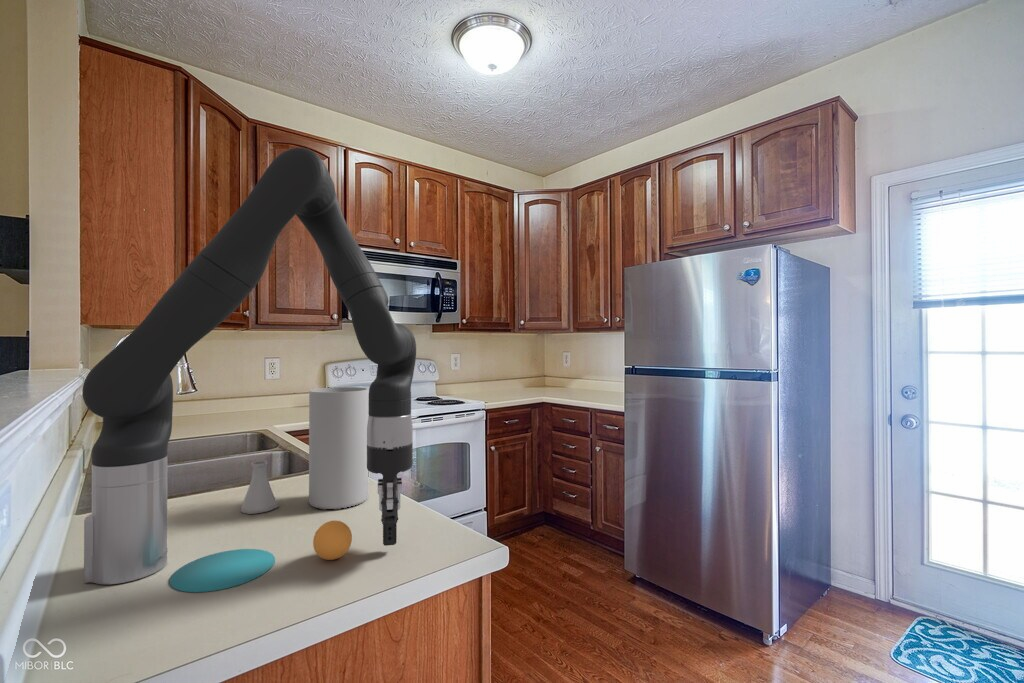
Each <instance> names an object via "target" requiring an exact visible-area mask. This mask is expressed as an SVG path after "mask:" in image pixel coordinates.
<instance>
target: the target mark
mask: <svg viewBox="0 0 1024 683" xmlns="http://www.w3.org/2000/svg"><path fill="white" fill-rule="evenodd" d="M275 560H276V558H275V555H274V553H273V554H272V552H269V550H268V551H267V550H264V549H260V548H259V549H257V548H240V549H230V550H226V551H220V552H216V553H212V554H208V555H205V556H202V557H200V558H197V559H195V560H193V561H190V562H188V563H186V564H184V565H182V566H181V567H179V568H178V569H177V570H175V571H174V573H173V574H172V575H171V576H170V578H169V584H170V586H171V588H173V589H174V590H176V591H180V592H185V593H208V592H214V591H215V592H217V591H220V590H221V591H222V590H226V589H229V588H230V589H231V588H233V587H237V586H239V585H243V584H246V583H248V582H251V581H253V580H256V579H257V578H259V577H261V576H262V575H264V574H266V573H267V572H268V571H270V569H272V567H273V566H274V565H275ZM273 564H274V565H273Z"/></svg>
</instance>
